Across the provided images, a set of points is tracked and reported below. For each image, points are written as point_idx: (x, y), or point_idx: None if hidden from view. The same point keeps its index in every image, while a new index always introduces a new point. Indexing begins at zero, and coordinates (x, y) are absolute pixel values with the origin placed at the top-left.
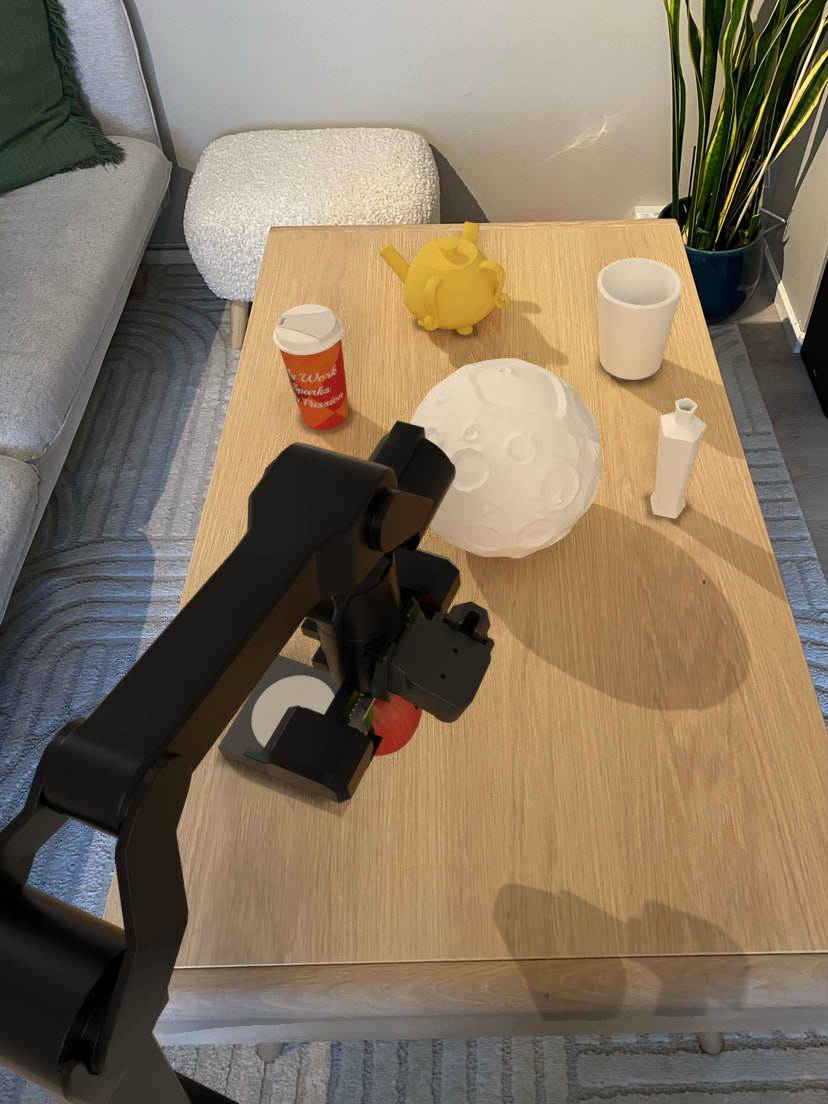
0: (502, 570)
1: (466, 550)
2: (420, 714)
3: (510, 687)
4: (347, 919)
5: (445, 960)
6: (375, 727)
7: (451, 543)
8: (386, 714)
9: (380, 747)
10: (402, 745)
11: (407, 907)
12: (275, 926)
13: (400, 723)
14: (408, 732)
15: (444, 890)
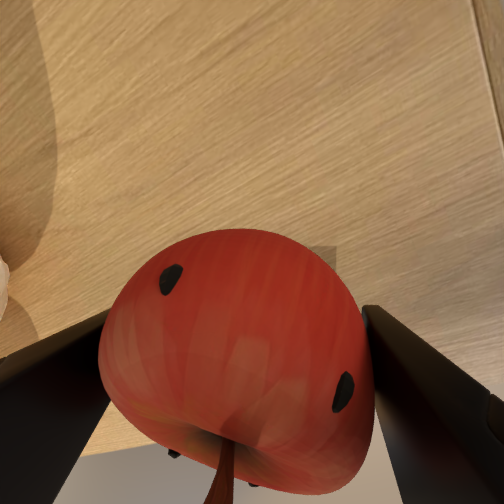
0: (11, 219)
1: (3, 268)
2: (190, 243)
3: (108, 141)
4: (449, 183)
5: (476, 22)
6: (329, 389)
7: (2, 289)
8: (267, 391)
9: (349, 308)
10: (295, 243)
11: (415, 119)
12: (477, 253)
13: (262, 306)
14: (264, 252)
15: (378, 82)
